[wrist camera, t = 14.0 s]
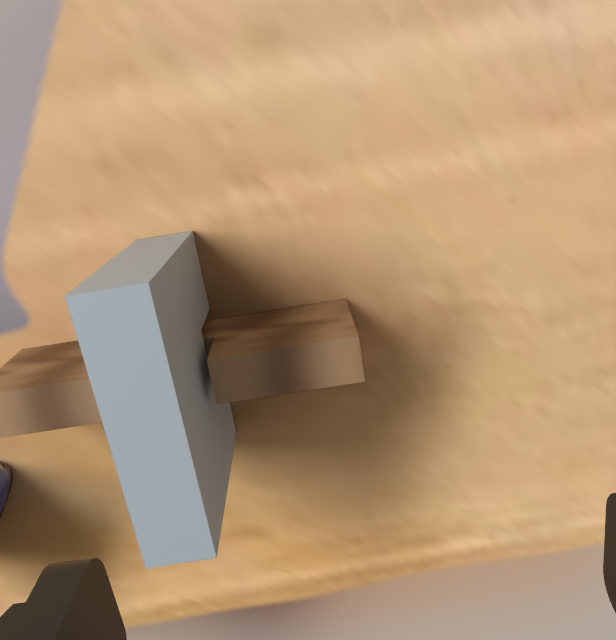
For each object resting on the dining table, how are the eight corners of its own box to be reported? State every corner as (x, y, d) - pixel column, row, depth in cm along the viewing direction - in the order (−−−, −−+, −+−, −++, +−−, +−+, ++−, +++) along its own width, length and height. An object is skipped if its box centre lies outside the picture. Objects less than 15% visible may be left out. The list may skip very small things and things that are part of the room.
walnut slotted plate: (34, 386, 44) (-18, 440, 37) (22, 349, 43) (-34, 397, 36) (351, 336, 44) (365, 381, 36) (345, 298, 43) (358, 336, 35)
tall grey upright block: (186, 440, 46) (145, 568, 33) (136, 240, 41) (64, 296, 28) (236, 432, 46) (216, 557, 33) (192, 230, 41) (148, 282, 28)
